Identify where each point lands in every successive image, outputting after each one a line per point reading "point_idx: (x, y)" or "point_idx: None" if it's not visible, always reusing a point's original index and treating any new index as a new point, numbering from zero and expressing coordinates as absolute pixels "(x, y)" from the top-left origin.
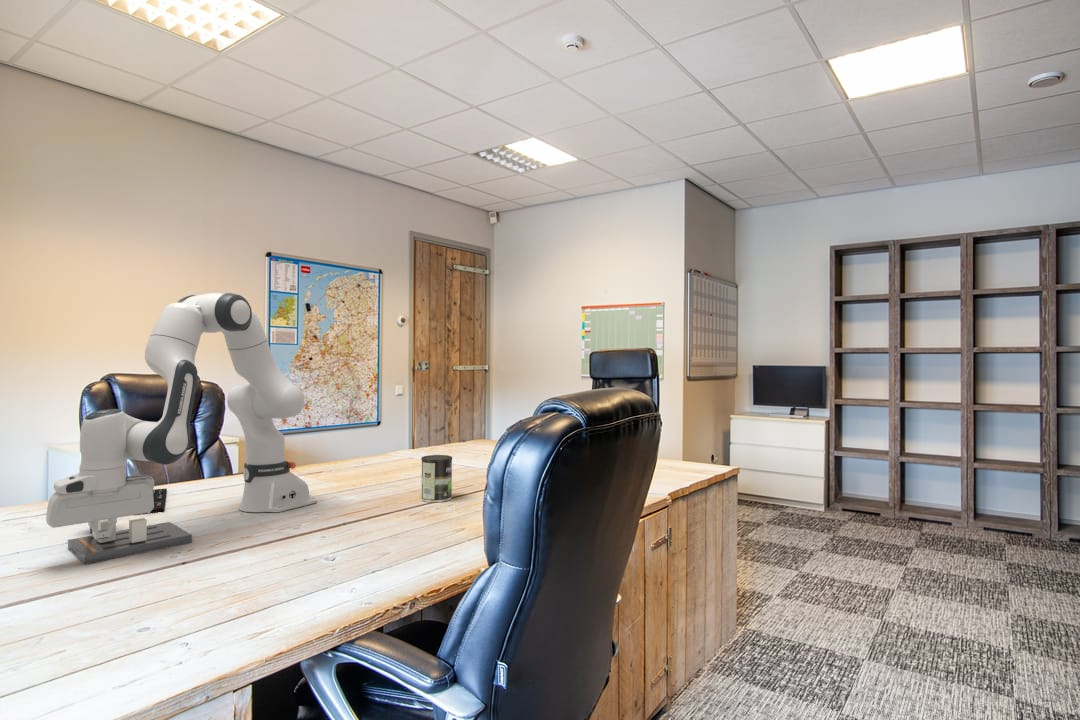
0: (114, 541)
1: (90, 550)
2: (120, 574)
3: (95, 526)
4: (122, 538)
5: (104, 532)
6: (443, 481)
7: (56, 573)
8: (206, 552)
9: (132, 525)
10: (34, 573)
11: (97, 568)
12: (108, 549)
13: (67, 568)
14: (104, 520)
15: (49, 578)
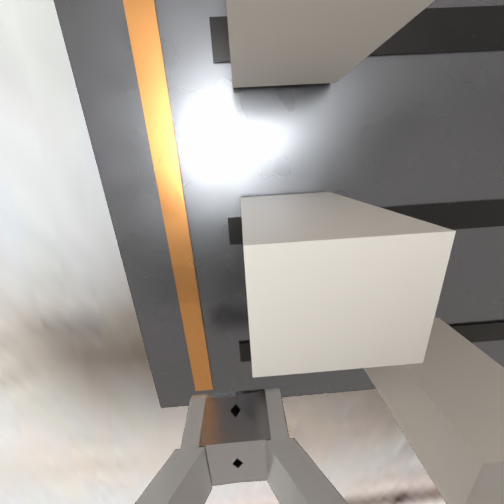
0: None
1: (187, 347)
2: (251, 498)
3: (236, 40)
4: None
5: (246, 470)
6: None
7: (86, 408)
8: None
9: (436, 482)
10: (6, 368)
11: None
12: (258, 379)
13: (116, 379)
14: (309, 321)
15: (72, 440)
